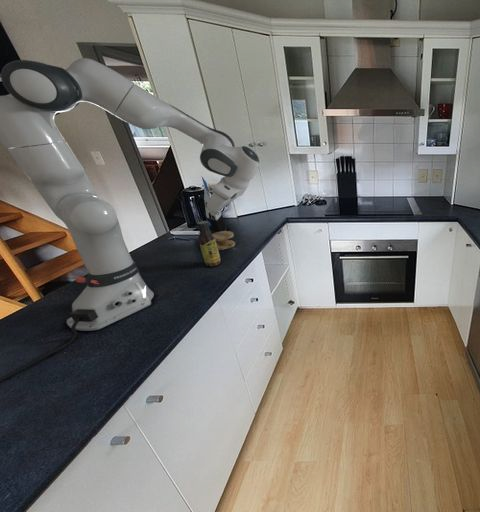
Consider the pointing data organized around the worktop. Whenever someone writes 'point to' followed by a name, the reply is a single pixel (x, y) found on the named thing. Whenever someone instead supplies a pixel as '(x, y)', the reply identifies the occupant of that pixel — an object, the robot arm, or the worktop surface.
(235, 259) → the worktop surface
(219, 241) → the stand
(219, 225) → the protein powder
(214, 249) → the sauce bottle
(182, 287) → the worktop surface
